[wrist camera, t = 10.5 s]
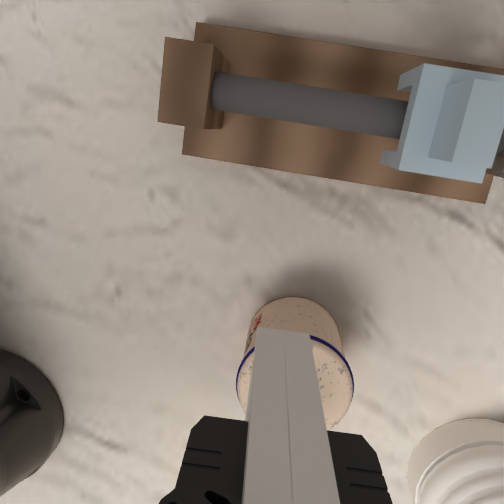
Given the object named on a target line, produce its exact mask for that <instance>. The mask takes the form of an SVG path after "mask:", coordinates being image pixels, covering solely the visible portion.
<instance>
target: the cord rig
mask: <svg viewBox="0 0 504 504" xmlns="http://www.w3.org/2000/svg"><path fill="white" fill-rule="evenodd" d="M424 63H426V64H432V65H439V66H445V67H452V68H458V69H465V70H471V71H478V72H484V73H491V74H497V75H504V69H498V68H492V67H485V66H479V65H472V64H466V63H459V62H453V61H446V60H440V59H433V58H427V57H420V56H414V55H407V54H401V53H394V52H388V51H381V50H375V49H368V48H362V47H355V46H349V45H342V44H336V43H329V42H323V41H316V40H310V39H303V38H297V37H290V36H284V35H277V34H271V33H264V32H258V31H251V30H245V29H238V28H232V27H225V26H218V25H212V24H205V23H199V22H196V28H195V38H194V41H189V40H183V39H176V38H170V37H165V45H164V56H163V67H162V78H161V89H160V100H159V111H158V122H162V123H168V124H175V125H181V126H185V131H184V140H183V149H182V154H184V155H190V156H196V157H202V158H208V159H214V160H220V161H226V162H232V163H239V164H245V165H251V166H257V167H263V168H269V169H275V170H281V171H287V172H294V173H300V174H306V175H312V176H318V177H324V178H330V179H336V180H342V181H349V182H355V183H361V184H367V185H373V186H379V187H385V188H391V189H398V190H404V191H410V192H416V193H422V194H428V195H434V196H440V197H446V198H453V199H459V200H465V201H471V202H477V203H483V204H485V203H486V199H487V196H488V193H489V190H490V186H491V183H492V180H493V176H499V177H503V178H504V129H503V132H502V135H501V139H500V142H499V145H498V149H497V152H496V155H495V159H494V162H493V165H492V168H491V169H490V168H486V172H485V175H484V179H483V182H482V184H481V183H475V182H469V181H463V180H456V179H450V178H444V177H438V176H432V175H426V174H419V173H413V172H407V171H401V170H397V169H394V168H392V167H389V166H386V165H384V164H381V163H380V161H381V157H382V152H383V149H386V150H392V151H397V148H398V144H399V139H400V135H401V131H402V127H403V123H404V119H405V114H406V110H407V106H408V102H409V98H410V94H411V92H406V91H400V90H397V87H398V83H399V79H400V75H401V74H403V73H405V72H407V71H409V70H411V69H413V68H416V67H418V66H420V65H422V64H424Z"/></svg>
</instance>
